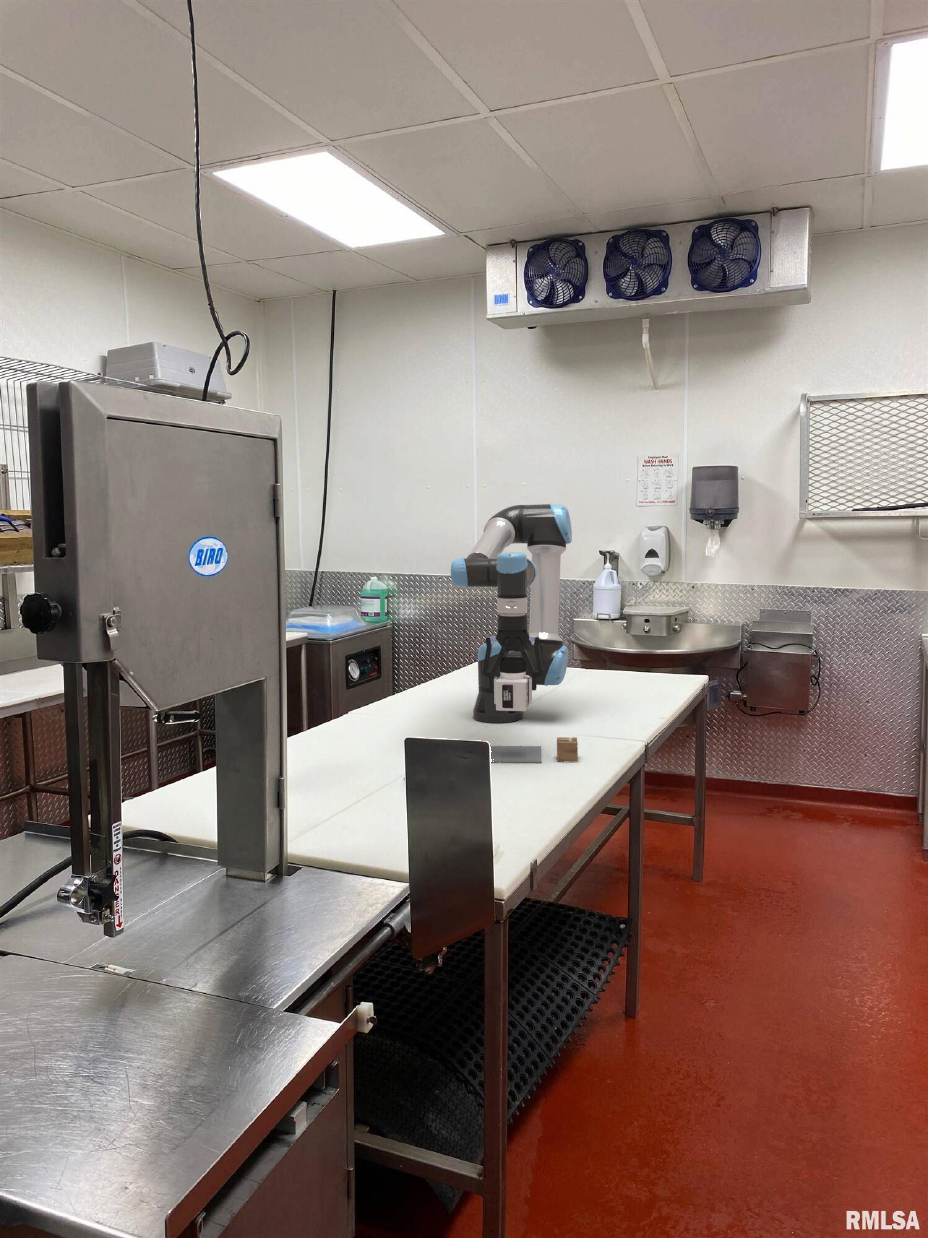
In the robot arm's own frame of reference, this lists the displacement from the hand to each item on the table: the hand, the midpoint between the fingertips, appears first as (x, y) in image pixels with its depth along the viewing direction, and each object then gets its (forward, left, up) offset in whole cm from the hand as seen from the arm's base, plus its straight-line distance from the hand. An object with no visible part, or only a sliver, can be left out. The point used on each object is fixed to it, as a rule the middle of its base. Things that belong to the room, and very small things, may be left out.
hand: (513, 702), depth 220 cm
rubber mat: (0, 0, -14) cm, 14 cm away
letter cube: (+3, +14, -14) cm, 20 cm away
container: (0, 0, -1) cm, 1 cm away
